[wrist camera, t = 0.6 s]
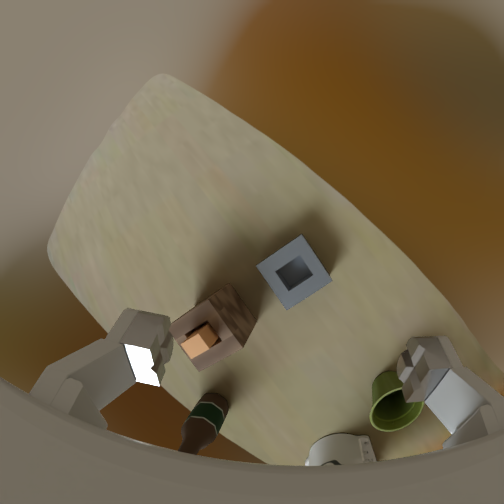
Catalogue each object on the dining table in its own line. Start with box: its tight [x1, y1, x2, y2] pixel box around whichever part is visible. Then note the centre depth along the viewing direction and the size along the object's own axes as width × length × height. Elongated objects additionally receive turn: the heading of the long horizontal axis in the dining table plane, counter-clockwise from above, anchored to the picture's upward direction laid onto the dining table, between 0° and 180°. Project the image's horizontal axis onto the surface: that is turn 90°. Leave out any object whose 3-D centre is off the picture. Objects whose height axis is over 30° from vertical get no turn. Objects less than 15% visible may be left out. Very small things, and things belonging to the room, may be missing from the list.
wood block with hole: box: [169, 283, 257, 371], centre depth 54 cm, size 10×10×14 cm
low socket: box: [256, 234, 332, 310], centre depth 55 cm, size 10×10×6 cm
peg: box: [180, 322, 219, 359], centre depth 47 cm, size 3×4×8 cm
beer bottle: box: [178, 393, 229, 455], centre depth 52 cm, size 8×8×24 cm
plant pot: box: [370, 371, 424, 432], centre depth 50 cm, size 12×12×11 cm
